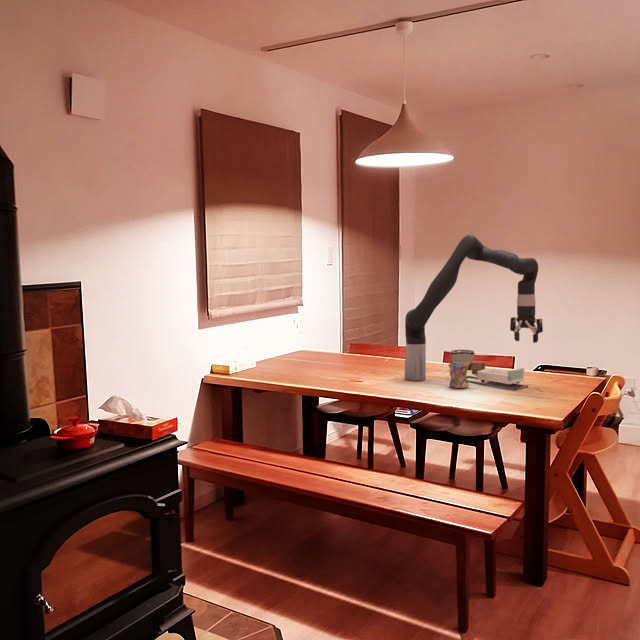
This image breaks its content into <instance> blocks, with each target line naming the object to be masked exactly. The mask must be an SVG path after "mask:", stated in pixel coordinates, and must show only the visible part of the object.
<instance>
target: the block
mask: <svg viewBox="0 0 640 640" xmlns="http://www.w3.org/2000/svg"><path fill="white" fill-rule="evenodd" d="M485 369H486V362H485V361H484V362H483V361H473V362H472V371H471V375H472V374H476V375H475V376H477V371H480V370H485Z"/></svg>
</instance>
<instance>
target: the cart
mask: <svg viewBox="0 0 640 640" xmlns="http://www.w3.org/2000/svg"><path fill="white" fill-rule="evenodd" d="M476 377H477V379H476V380H479V379H481V380H480V382H481V383H485V382H491V381H493V382H492V383H497V382H499V383H498V384H502V386H504V387H509V384H512V383H515V384H521V382H524V379H525V368H523V367H522V368H517V369H513V370H507V369H500V368H493V367H491V368H485V370H480V371H477V375H476ZM485 380H487V381H485Z"/></svg>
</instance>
